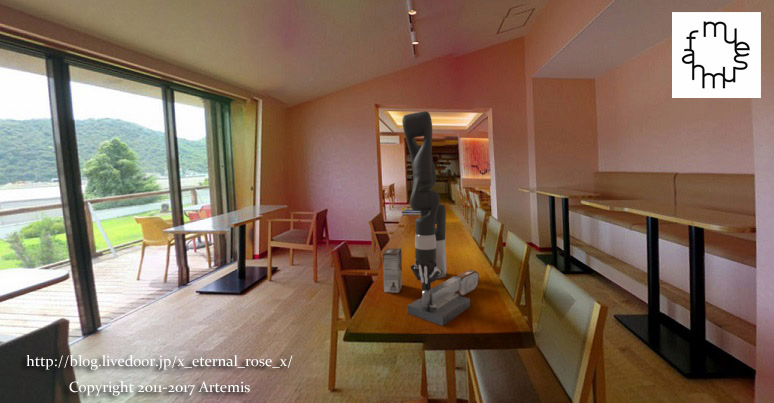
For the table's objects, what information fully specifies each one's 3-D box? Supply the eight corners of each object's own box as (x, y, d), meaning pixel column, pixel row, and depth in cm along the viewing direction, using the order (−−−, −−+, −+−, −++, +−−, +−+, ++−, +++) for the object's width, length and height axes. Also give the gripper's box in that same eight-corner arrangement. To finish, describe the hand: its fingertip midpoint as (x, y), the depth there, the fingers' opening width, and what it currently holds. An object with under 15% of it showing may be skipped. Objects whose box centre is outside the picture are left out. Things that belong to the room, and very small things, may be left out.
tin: (473, 286, 134) (473, 266, 133) (480, 288, 132) (480, 268, 131) (452, 297, 124) (452, 275, 123) (459, 299, 122) (459, 277, 121)
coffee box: (388, 284, 139) (386, 247, 138) (402, 284, 138) (401, 248, 136) (383, 292, 131) (382, 253, 129) (399, 293, 129) (398, 254, 128)
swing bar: (432, 306, 107) (432, 294, 106) (424, 303, 109) (424, 291, 108) (461, 288, 121) (461, 278, 121) (453, 286, 123) (453, 276, 123)
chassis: (436, 296, 124) (436, 273, 123) (469, 306, 115) (469, 281, 114) (407, 313, 111) (406, 287, 110) (442, 326, 102) (442, 297, 101)
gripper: (447, 246, 114) (447, 293, 116) (417, 241, 123) (417, 285, 125) (435, 251, 109) (435, 300, 111) (404, 245, 118) (405, 291, 120)
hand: (426, 292), depth 118 cm, fingers closed
